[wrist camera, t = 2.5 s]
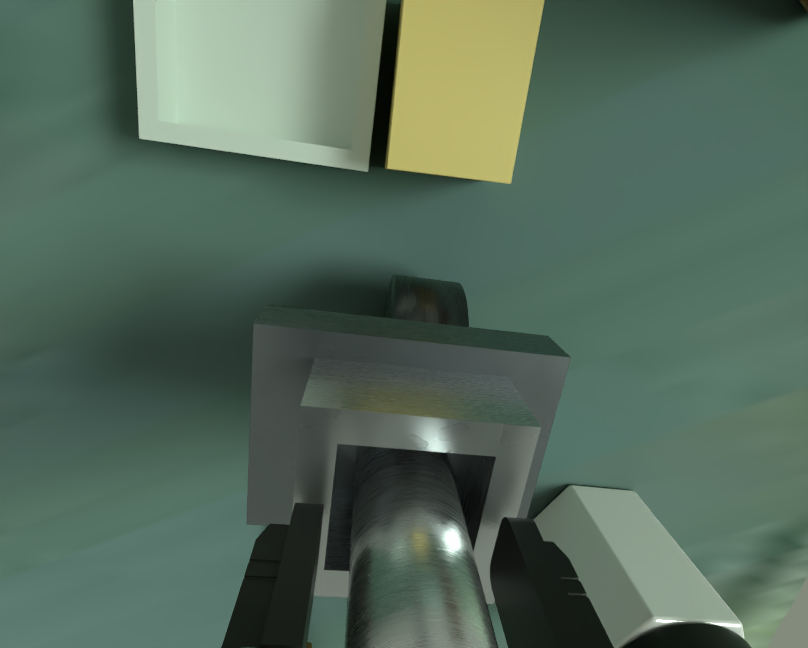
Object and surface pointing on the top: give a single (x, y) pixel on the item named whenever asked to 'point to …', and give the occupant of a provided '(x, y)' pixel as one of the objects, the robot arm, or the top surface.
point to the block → (804, 3)
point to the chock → (461, 86)
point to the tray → (261, 76)
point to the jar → (637, 573)
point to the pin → (412, 557)
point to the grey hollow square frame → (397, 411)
